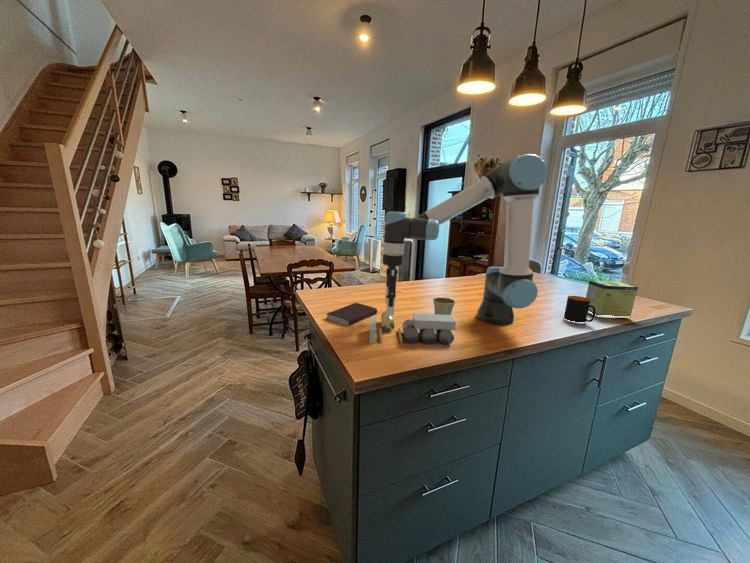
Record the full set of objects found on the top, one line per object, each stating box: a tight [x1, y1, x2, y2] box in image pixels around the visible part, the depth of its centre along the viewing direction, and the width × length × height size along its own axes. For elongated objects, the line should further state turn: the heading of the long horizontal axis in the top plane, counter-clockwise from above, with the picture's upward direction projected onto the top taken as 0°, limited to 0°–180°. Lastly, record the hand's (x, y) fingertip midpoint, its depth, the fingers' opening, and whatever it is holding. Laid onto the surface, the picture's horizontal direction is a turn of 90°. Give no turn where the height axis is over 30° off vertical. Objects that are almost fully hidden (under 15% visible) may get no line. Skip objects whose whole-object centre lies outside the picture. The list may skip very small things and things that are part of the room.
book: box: [326, 302, 378, 327], centre depth 128 cm, size 12×19×3 cm, turn 145°
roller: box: [380, 310, 395, 333], centre depth 118 cm, size 10×5×5 cm, turn 0°
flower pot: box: [432, 296, 456, 316], centre depth 127 cm, size 9×9×9 cm
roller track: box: [378, 319, 455, 346], centre depth 108 cm, size 25×11×5 cm, turn 90°
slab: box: [411, 313, 457, 331], centre depth 107 cm, size 14×7×3 cm, turn 90°
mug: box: [563, 295, 596, 323], centre depth 131 cm, size 8×12×10 cm
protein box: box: [585, 280, 639, 317], centre depth 143 cm, size 10×16×16 cm
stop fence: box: [368, 316, 377, 344], centre depth 108 cm, size 2×12×5 cm, turn 0°
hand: (389, 308), depth 117 cm, fingers open, 13 cm apart
